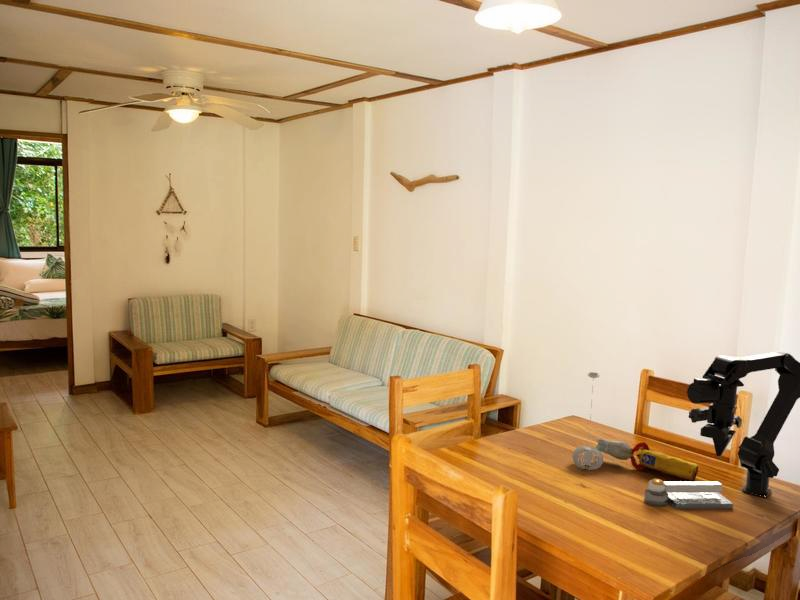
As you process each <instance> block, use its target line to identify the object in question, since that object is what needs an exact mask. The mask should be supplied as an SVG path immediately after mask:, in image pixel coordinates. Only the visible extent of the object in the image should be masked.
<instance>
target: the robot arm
mask: <svg viewBox="0 0 800 600" xmlns="http://www.w3.org/2000/svg"><path fill="white" fill-rule="evenodd" d="M773 369H774V371H775V372H776V373H777V374H778V375H779V376H778V380H777V384H778V385H777V386H778V392H777V393H776V396H775V397H774V400H773V401H772V402H771V403H772V404H771V405H770V407H769V409H768V410H767V413H766V414H765V416H764V417H763V420H762V421H761V423H760V425H759V428H758V429H757V431H756V433H755V434H754V435H752V436H750V437H749V436H745V437H743V438H742V442H741V443H740V445H739V446H738V447H737V448H738V451H737V456H738V460H739V463H740V466H741V468H744V469H746V470H747V471H746V479H745V480H746V481H745V485H744V486H743V487H742V489H741V492H742V491H744V492H743V493H746V492H748V493H747V494H749V493H753V494H757V495H761V496H764V495H765V496H766V497H767V496H769V495H770V494H771V493H772V489H770V488H769V485H770V479H773V478H774V477H777V476H778V474H779V471H780V468H779V467H778V466H777V465H776V464H775V462H774V461H773V459H774V457H775V446H774V445H775V444H774V443H775V441H776V440H777V438H778V436H779V433H780V432H781V430H782V429H783V426H784V424H785V423H786V421H787V419H788V417H789V415H790V413H791V412H792V410H793V408H794V406H795V404H796V403H797V401H798V400H799V399H800V361H798V360H797V359H796V358H795V357H794V356H793V355H792V354H791V353H788V352H784V351H779V350H774V351H773V352H768V353H761V354H754V355H747V356H734V355H733V356H732V355H718V356H715V357H714V360H713V361H712V362H711V364H710V365H709V367H708V368H707V369H706V371H705V373H704V374H702V378H698V377H697V378H693V382H691V383H690V384H689V386H688V388H687V389H686V394H687V398H688V400H689V402H691V403H692V404H693V405H694V404H695V405H697V404H699V405H700V404H709V405H708V406H706V407H704V406H703V407H696V408H692V409H690V410H689V412H688V418H689V419H690V420H691V423H693V424H694V423H695V424H696V423H697V422H698V423H699V422H703V421H704V422H705V421H706V423H707V424H705V425H704V426H702V427H701V428H700V433H699V434H700V435H699V436H701V437H703V438H710V439H712V442H713V447H714V450H715V456H717V457H721V456H722V455H724V452H725V450H726V449H727V447H728V446H729V444H730V442H731V440H732V439H733V437H734V436H735V434H736V430H735V429H734V430H732V429H731V428H732V426H734V425H735V427H736V428H738V429H739V428H740V427H742V421H743V419H742V418H741V417H740V415H735V414H736V413H735V412H736V410H738V405H737V403H736V401H737V394H738V393H737V391H738V387H744V386H745V384H744V383H743V382H742V381H741V380H740V379H743V378H745V377H746V376H747V375H748V374H750V373H754V372H760V371H767V370H773ZM770 492H771V493H770ZM769 493H770V494H769ZM753 494H752V495H753ZM768 494H769V495H768ZM757 495H756V496H757ZM761 496H760V497H761ZM767 498H768V497H767Z"/></svg>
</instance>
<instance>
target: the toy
mask: <svg viewBox="0 0 800 600" xmlns="http://www.w3.org/2000/svg"><path fill="white" fill-rule="evenodd" d="M596 441H597V445H596V446H595V448H596V449H598V450H599V451H600V452H601V453H604V454H606V455H609V456H611V457H612V458H614V459H616V460H621V461H627V460H629V459H630V461H631V462H630V463H631V465H632V467H633V468H634V469H635V470H637V471H643V469H644V468H648V469H651V470H655V471H657V472H661V473H666V474H667V475H671V476H676V477H678V478H680V479H683V480H685V479H686V480H689V482H695V481H696V479H697V475H698V471H699V464H698V463H695V462H691V461H688V460H684V459H682V458H680V457H679V458H678V457H675V456H669V455H667V454H664V453H663V452H660V451H657V450H654V449H650V447H649V445H648V444H647V443H646V442H645V441H642V442H638V443H637V444H636V445H634V446H633V448H632V447H631V445H630V444H629V443H627V442H625V441H623V440H622V441H617V440H608V439H604V438H597V439H596ZM640 450H641V452H640V453H637V454H636V457H635V455H634V454H635V452H638V451H640ZM637 459H638V460H639V463H638V462H637Z"/></svg>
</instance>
